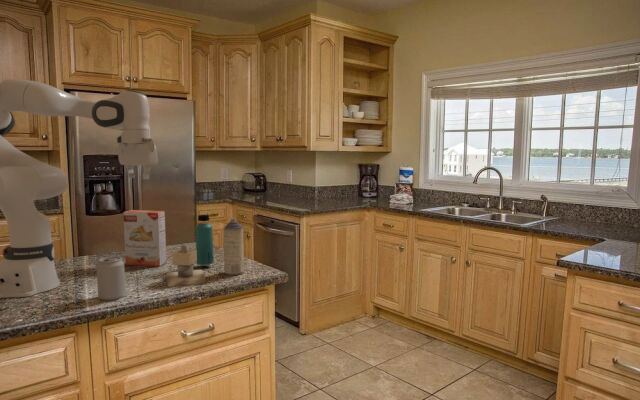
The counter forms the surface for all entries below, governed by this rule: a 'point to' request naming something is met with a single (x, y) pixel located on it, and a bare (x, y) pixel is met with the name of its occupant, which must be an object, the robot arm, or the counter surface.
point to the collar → (184, 257)
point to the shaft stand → (185, 274)
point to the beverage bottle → (204, 241)
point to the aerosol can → (233, 248)
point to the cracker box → (145, 237)
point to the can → (110, 278)
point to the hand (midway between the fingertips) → (138, 178)
